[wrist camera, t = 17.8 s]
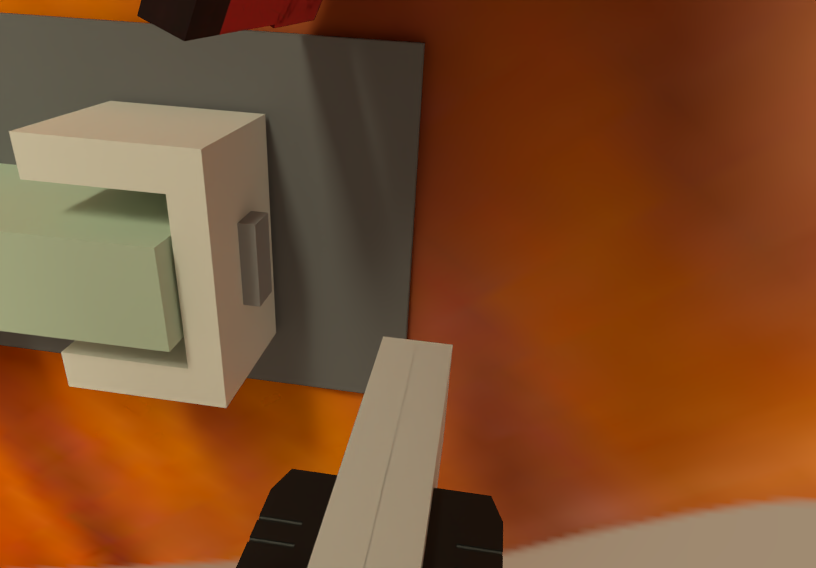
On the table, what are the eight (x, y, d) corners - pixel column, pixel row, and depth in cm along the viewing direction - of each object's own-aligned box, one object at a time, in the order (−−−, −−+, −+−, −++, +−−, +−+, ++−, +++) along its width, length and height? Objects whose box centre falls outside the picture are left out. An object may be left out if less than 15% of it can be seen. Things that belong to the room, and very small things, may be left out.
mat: (-224, -4, 23) (-236, -4, 22) (424, 42, 20) (423, 44, 20) (-103, 325, 29) (-111, 330, 29) (403, 392, 26) (402, 398, 26)
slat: (-104, 153, 24) (-275, 202, 19) (236, 185, 23) (153, 248, 17) (-77, 235, 26) (-229, 302, 21) (243, 270, 24) (169, 351, 19)
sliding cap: (110, 100, 22) (9, 131, 17) (281, 115, 21) (222, 151, 17) (144, 316, 26) (69, 386, 21) (290, 334, 25) (243, 410, 21)
